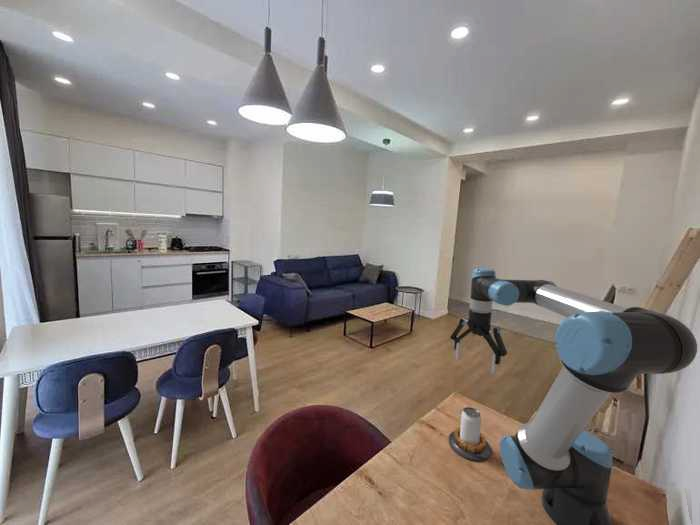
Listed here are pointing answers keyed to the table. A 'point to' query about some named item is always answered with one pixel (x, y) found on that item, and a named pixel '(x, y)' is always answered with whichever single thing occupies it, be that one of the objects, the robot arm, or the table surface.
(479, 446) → the grey and gold ring
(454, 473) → the table surface
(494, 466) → the table surface
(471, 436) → the can
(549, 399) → the robot arm
